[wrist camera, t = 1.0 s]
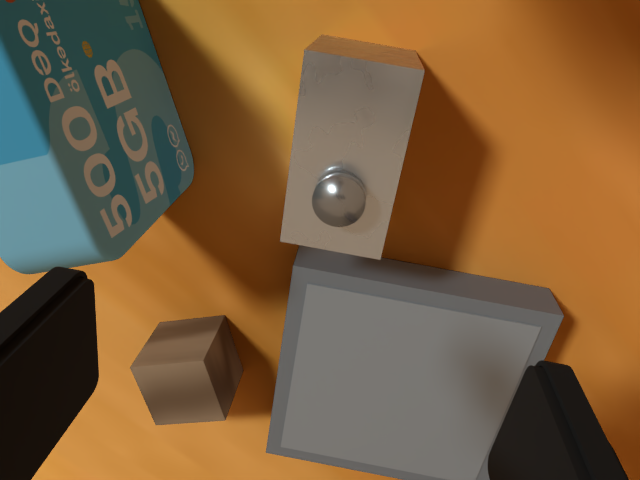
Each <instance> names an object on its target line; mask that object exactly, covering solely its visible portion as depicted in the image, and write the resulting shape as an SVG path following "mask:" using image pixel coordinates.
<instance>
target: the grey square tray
mask: <svg viewBox="0 0 640 480" xmlns="http://www.w3.org/2000/svg"><path fill="white" fill-rule="evenodd" d="M563 317H564V315H563V313H562V311H561V309H560V308H559V306H558V304H557V302H556V300H555V298H554V297H553V295H552V293H551V291H550V289H549V288H544V287H538V286H533V285H527V284H522V283H516V282H511V281H506V280H500V279H495V278H489V277H484V276H479V275H473V274H468V273H462V272H457V271H451V270H446V269H441V268H435V267H430V266H424V265H419V264H413V263H408V262H403V261H397V260H392V259H386V258H381V259H380V260H378V259H372V258H367V257H361V256H356V255H351V254H345V253H340V252H334V251H329V250H324V249H318V248H313V247H307V246H302V245H299V249H298V252H297V255H296V258H295V261H294V265H293V270H292V277H291V284H290V291H289V298H288V304H287V311H286V318H285V325H284V332H283V339H282V346H281V352H280V359H279V366H278V373H277V380H276V387H275V394H274V400H273V407H272V414H271V421H270V428H269V435H268V442H267V448H266V453H270V454H276V455H281V456H286V457H291V458H296V459H301V460H306V461H311V462H316V463H321V464H326V465H332V466H337V467H342V468H347V469H352V470H357V471H362V472H367V473H372V474H377V475H382V476H388V477H393V478H398V479H403V480H490V479H489V474H488V456H489V453H490V451H491V448H492V446H493V444H494V441H495V439H496V437H497V434H498V432H499V430H500V428H501V425H502V423H503V421H504V418H505V416H506V414H507V412H508V409H509V407H510V405H511V402H512V400H513V398H514V396H515V393H516V391H517V389H518V386H519V384H520V382H521V380H522V377H523V375H524V373H525V370H526V369H527V367H528V366H530V365H532V366H535V365H536V363H537V362H539V361H541V360H543V361H544V359H545V357H546V355H547V353H548V350H549V348H550V346H551V344H552V342H553V339H554V337H555V335H556V333H557V330H558V328H559V326H560V324H561V322H562V319H563Z"/></svg>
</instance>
